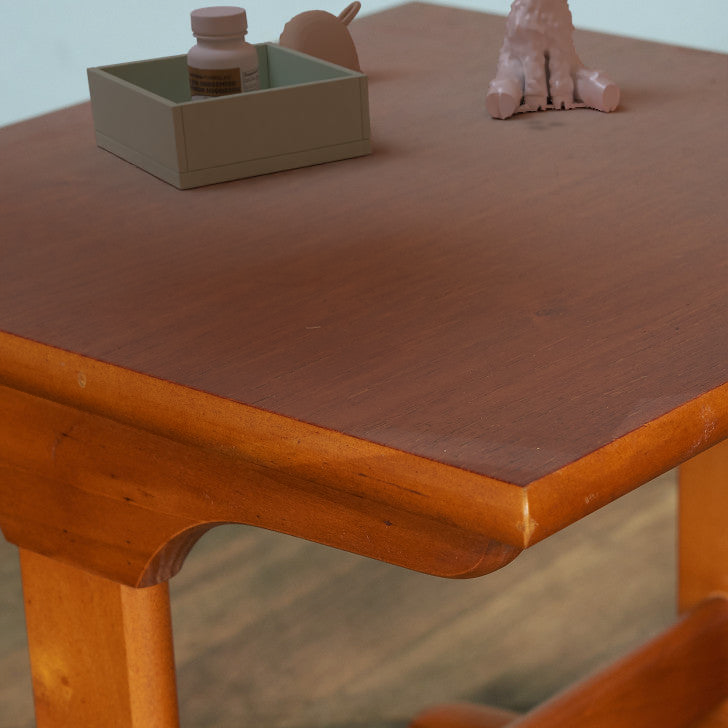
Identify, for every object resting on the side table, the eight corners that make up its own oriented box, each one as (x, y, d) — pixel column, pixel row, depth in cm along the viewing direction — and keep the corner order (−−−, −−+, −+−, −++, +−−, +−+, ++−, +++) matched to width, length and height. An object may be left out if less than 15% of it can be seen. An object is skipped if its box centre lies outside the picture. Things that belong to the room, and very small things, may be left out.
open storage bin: (180, 190, 100) (171, 106, 97) (96, 145, 109) (85, 68, 107) (372, 154, 106) (367, 74, 104) (276, 114, 116) (270, 41, 114)
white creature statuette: (488, 121, 113) (484, -64, 108) (461, 93, 120) (456, -81, 115) (622, 111, 115) (625, -71, 109) (588, 84, 122) (589, -88, 117)
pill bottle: (182, 140, 106) (168, 15, 103) (216, 123, 110) (204, 2, 106) (243, 145, 105) (232, 19, 101) (276, 128, 108) (266, 6, 105)
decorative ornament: (263, 87, 123) (256, 13, 121) (352, 69, 128) (347, -3, 126) (296, 96, 121) (290, 20, 118) (385, 77, 126) (382, 4, 123)
